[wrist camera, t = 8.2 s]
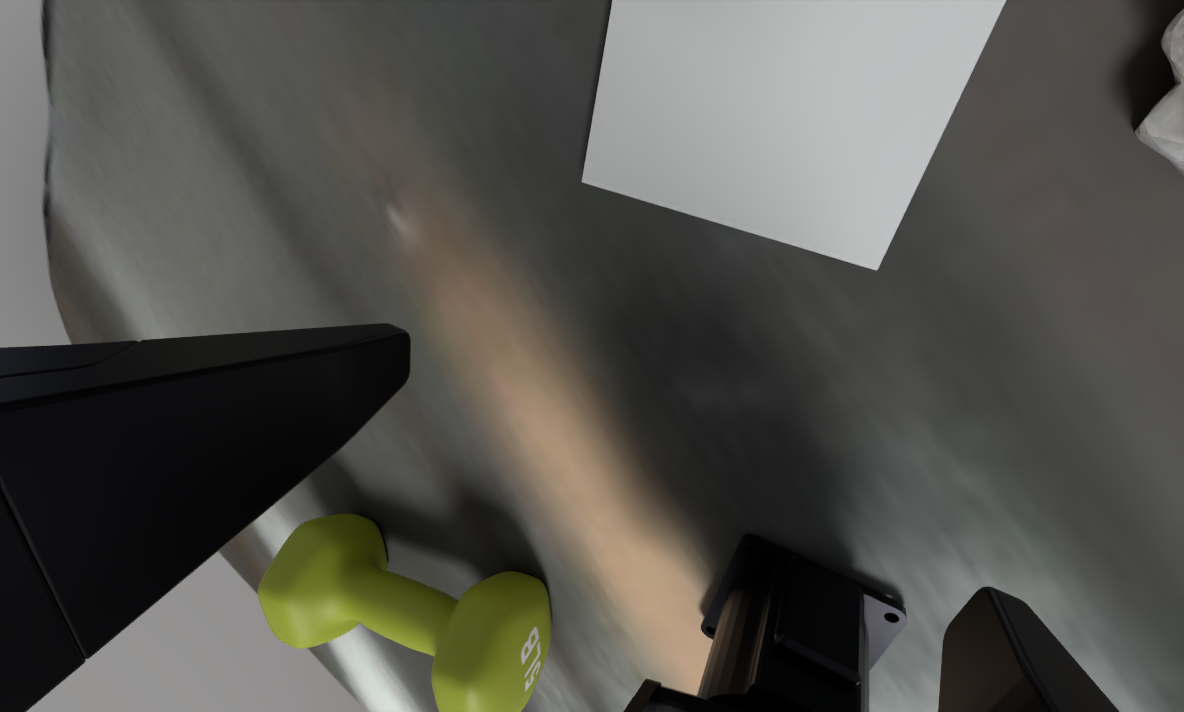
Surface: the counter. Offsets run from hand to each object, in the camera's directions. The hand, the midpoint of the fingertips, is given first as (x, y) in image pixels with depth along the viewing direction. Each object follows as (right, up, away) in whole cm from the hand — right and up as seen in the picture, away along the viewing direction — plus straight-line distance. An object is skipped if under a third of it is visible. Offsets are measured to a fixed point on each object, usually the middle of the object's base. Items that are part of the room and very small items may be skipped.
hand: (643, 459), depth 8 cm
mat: (+4, +10, +7) cm, 13 cm away
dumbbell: (-10, -11, +25) cm, 30 cm away
